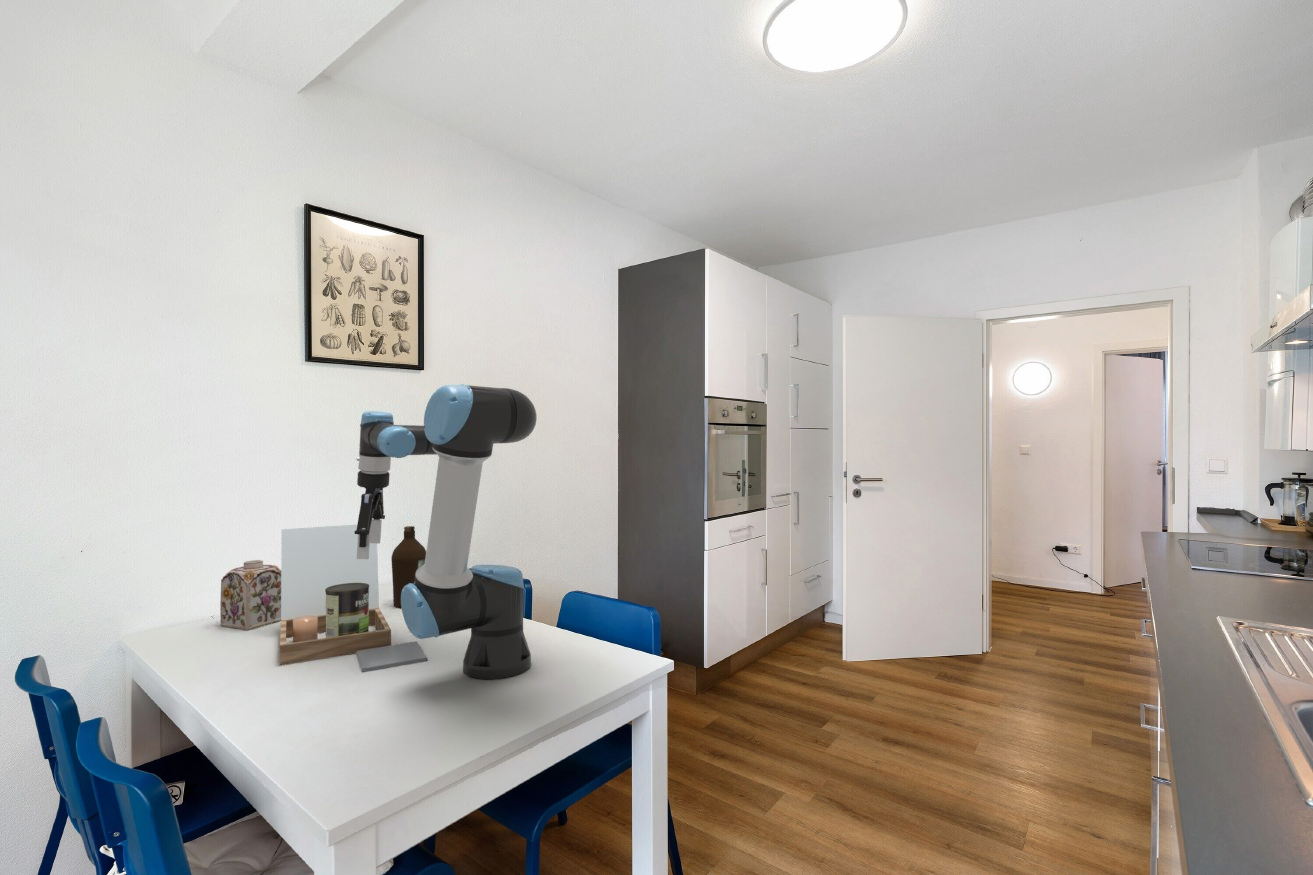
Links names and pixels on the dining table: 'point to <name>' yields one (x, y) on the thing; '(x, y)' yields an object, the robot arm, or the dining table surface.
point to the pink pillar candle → (305, 628)
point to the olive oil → (406, 563)
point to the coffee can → (347, 609)
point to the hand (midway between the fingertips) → (368, 550)
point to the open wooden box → (333, 641)
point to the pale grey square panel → (322, 568)
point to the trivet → (390, 656)
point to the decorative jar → (251, 596)
